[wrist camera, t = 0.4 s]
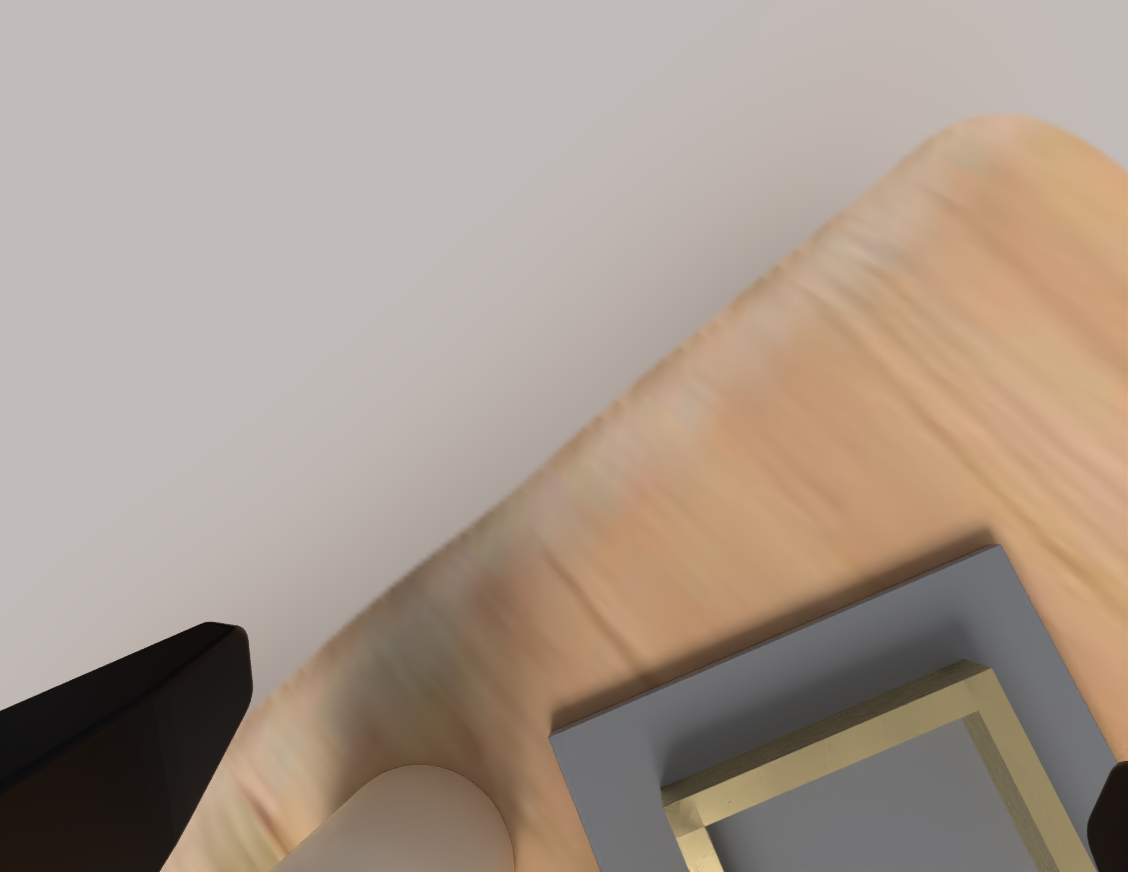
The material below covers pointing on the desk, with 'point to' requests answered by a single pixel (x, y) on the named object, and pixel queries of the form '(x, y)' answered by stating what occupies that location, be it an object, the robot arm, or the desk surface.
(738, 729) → the collar base
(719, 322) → the desk surface
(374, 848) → the lidded cream canister
